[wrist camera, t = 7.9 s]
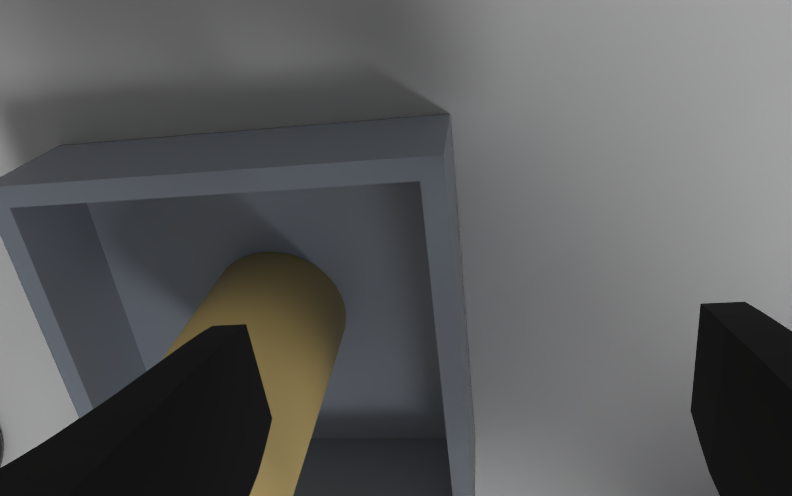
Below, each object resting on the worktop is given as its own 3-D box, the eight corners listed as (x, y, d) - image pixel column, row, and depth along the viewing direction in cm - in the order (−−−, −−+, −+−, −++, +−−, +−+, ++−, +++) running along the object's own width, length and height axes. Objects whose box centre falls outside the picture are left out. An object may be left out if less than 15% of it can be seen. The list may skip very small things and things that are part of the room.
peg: (334, 248, 20) (271, 401, 13) (355, 364, 22) (307, 545, 15) (198, 255, 20) (78, 404, 14) (230, 367, 22) (136, 541, 16)
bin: (450, 114, 18) (443, 155, 15) (475, 441, 23) (474, 521, 20) (58, 145, 20) (-20, 188, 17) (165, 441, 25) (121, 515, 22)
